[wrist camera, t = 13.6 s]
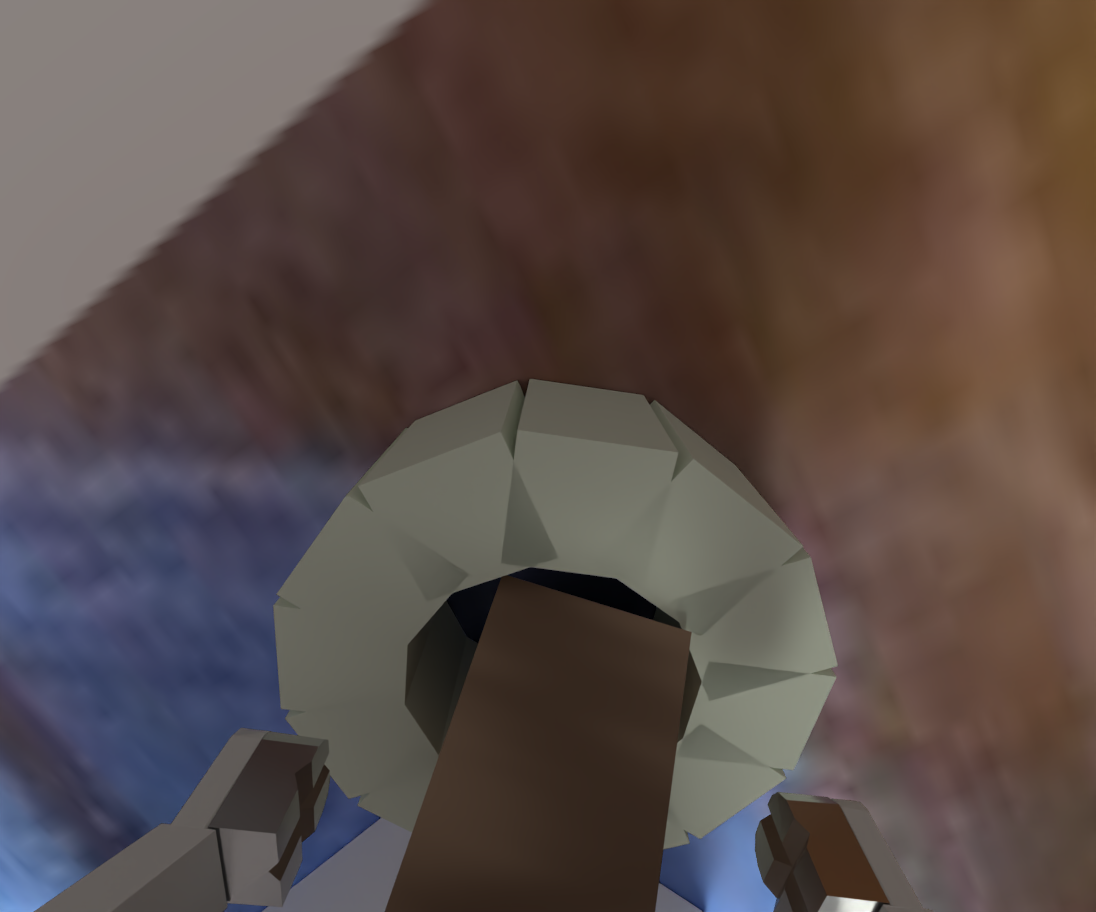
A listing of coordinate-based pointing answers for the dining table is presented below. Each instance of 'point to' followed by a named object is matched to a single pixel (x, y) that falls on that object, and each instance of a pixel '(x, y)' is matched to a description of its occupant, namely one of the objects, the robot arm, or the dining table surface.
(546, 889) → the brown wooden block
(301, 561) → the bead
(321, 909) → the gable box
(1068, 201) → the dining table surface
